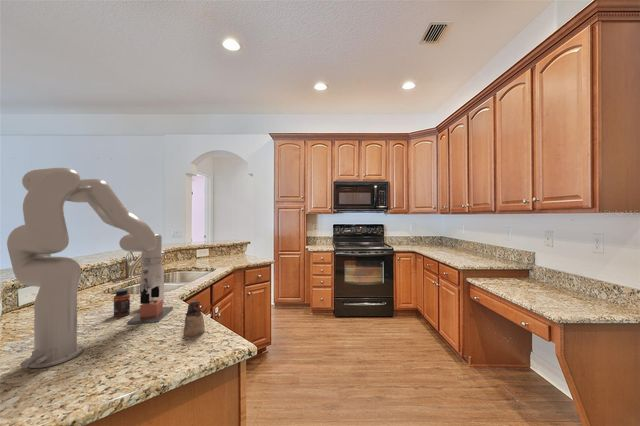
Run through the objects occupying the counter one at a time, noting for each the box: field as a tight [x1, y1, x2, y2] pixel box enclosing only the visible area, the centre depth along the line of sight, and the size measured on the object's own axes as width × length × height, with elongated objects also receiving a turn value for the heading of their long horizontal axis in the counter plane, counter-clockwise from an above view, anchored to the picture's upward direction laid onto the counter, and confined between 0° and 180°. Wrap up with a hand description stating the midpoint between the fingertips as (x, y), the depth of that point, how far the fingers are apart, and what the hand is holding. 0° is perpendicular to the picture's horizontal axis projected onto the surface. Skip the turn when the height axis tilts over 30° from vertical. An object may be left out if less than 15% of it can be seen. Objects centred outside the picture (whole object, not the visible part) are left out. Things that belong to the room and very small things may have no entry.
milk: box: [146, 264, 165, 304], centre depth 132 cm, size 6×6×22 cm
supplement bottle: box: [113, 288, 131, 318], centre depth 117 cm, size 6×6×11 cm
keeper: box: [126, 302, 174, 325], centre depth 116 cm, size 16×12×6 cm
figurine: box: [183, 300, 206, 338], centre depth 98 cm, size 7×7×12 cm
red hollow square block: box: [139, 300, 164, 317], centre depth 116 cm, size 6×6×5 cm
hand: (150, 300), depth 115 cm, fingers open, 9 cm apart
